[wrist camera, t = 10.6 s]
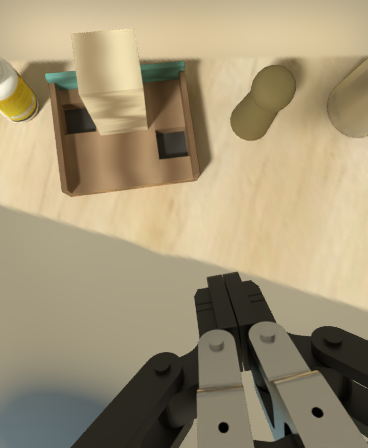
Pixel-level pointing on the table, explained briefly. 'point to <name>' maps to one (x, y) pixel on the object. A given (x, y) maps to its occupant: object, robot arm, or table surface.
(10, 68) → the supplement bottle
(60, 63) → the table surface
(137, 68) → the maple block
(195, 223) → the table surface
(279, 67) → the olive pawn
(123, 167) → the trap lane
